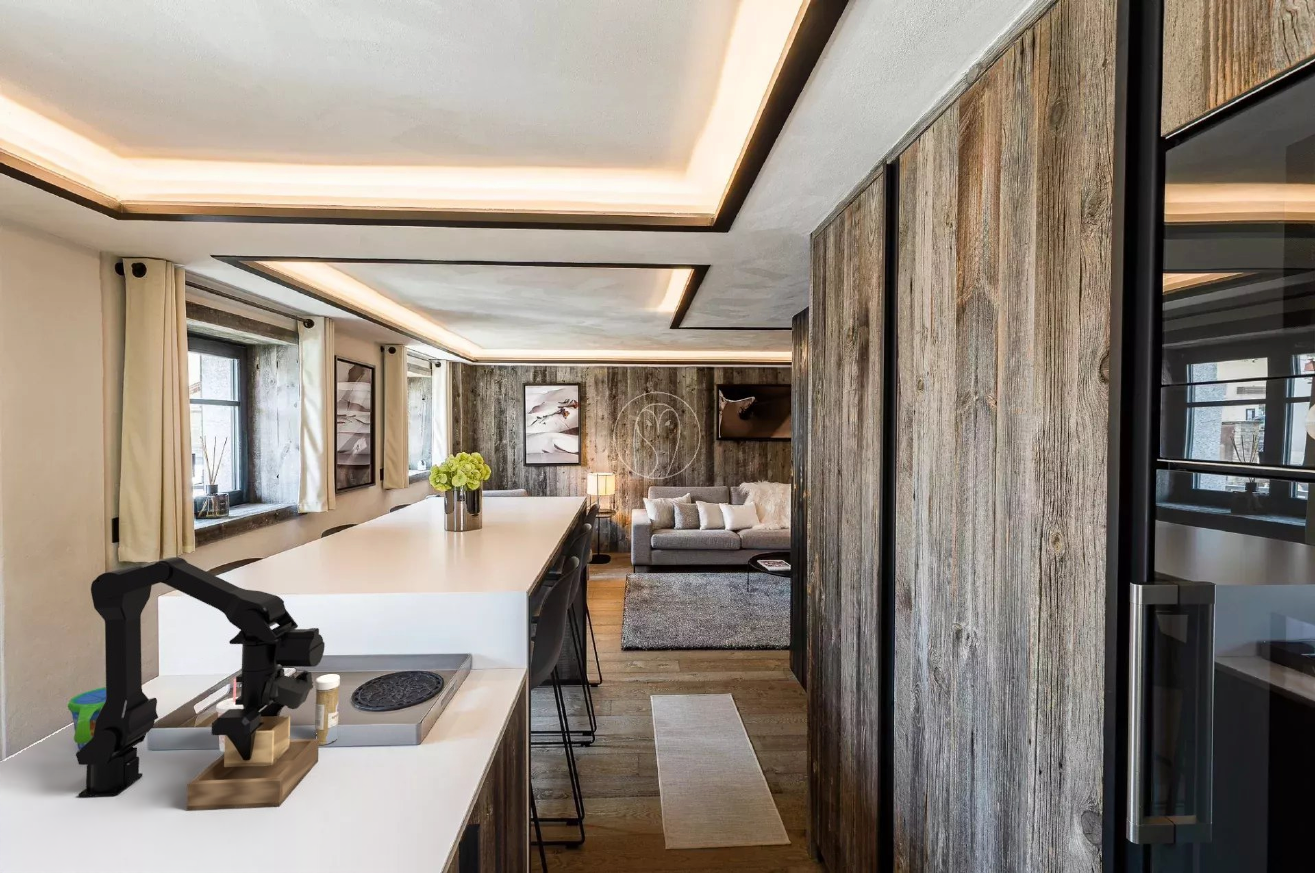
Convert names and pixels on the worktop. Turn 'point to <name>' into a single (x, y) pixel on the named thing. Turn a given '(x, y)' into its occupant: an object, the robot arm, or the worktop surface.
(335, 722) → the spice jar
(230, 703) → the beverage cup
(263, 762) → the oak crate
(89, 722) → the snack cup
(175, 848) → the worktop surface
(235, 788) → the walnut crate
